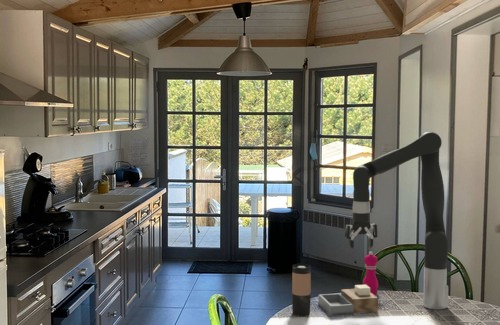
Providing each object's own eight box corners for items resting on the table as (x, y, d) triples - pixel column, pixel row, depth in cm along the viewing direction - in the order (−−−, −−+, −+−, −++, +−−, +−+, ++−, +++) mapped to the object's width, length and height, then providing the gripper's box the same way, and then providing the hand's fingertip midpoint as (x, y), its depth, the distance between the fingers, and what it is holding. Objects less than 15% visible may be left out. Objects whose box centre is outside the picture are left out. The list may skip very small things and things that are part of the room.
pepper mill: (378, 296, 255) (379, 253, 254) (362, 295, 256) (363, 252, 255) (378, 292, 262) (378, 249, 261) (362, 291, 263) (363, 249, 262)
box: (340, 302, 247) (340, 293, 247) (353, 314, 231) (353, 304, 231) (318, 303, 245) (318, 294, 245) (330, 315, 229) (330, 306, 229)
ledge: (364, 301, 248) (364, 288, 248) (377, 311, 234) (377, 297, 234) (340, 302, 246) (341, 289, 245) (352, 313, 232) (352, 299, 232)
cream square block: (365, 291, 243) (365, 284, 243) (370, 294, 238) (370, 287, 238) (354, 291, 242) (354, 285, 242) (359, 295, 237) (359, 288, 237)
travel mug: (312, 311, 234) (312, 264, 233) (308, 317, 227) (308, 268, 226) (294, 309, 237) (294, 262, 236) (289, 315, 230) (290, 267, 228)
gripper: (373, 209, 251) (372, 245, 252) (342, 210, 248) (342, 246, 250) (380, 211, 244) (379, 248, 245) (349, 213, 241) (348, 250, 242)
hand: (361, 247), depth 247 cm, fingers open, 8 cm apart
